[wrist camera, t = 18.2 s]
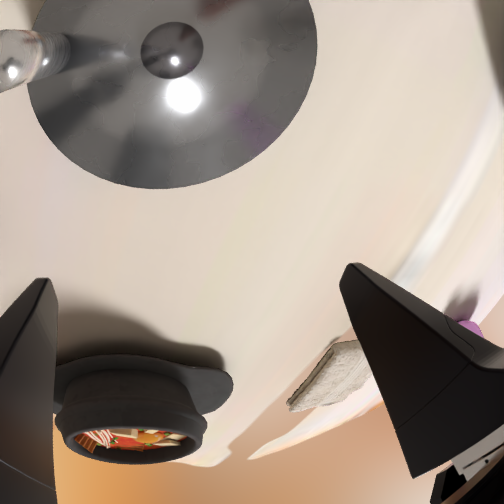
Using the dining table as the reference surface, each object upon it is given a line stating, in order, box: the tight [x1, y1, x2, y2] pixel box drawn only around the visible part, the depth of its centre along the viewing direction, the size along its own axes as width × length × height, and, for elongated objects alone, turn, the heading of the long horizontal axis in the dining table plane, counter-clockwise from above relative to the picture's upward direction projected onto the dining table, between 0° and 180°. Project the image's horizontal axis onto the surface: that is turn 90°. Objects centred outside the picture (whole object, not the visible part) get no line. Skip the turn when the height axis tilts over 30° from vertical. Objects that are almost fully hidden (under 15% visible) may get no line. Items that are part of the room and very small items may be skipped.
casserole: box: [53, 354, 233, 464], centre depth 28 cm, size 25×19×8 cm
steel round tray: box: [0, 0, 317, 189], centre depth 11 cm, size 16×16×7 cm
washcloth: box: [286, 339, 373, 412], centre depth 43 cm, size 12×18×3 cm, turn 163°
